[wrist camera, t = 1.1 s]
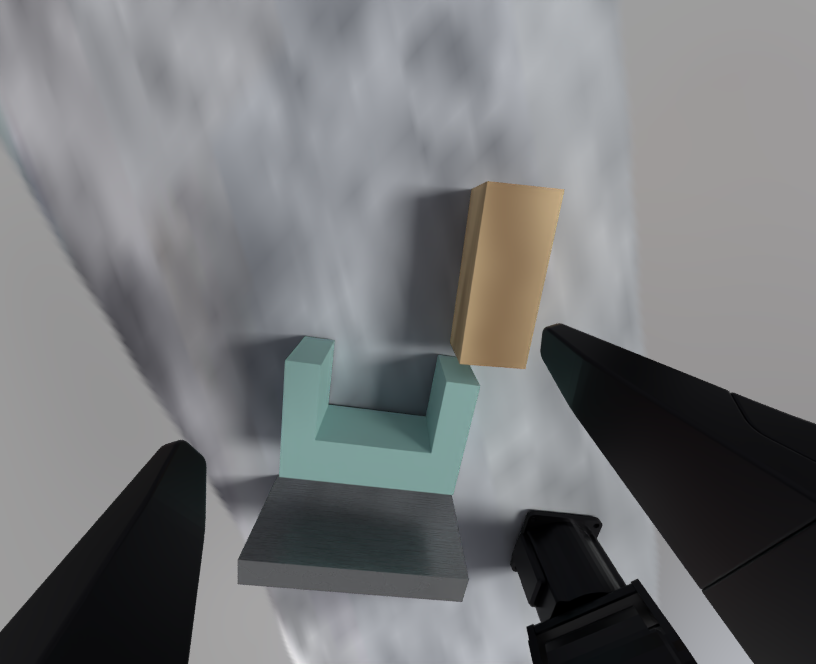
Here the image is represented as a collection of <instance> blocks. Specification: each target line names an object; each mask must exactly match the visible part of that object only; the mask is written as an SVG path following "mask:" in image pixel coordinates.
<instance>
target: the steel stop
mask: <svg viewBox="0 0 816 664" xmlns="http://www.w3.org/2000/svg"><path fill="white" fill-rule="evenodd" d="M468 580H469V579H468V574H467V569H466V564H465V559H464V554H463V549H462V544H461V539H460V534H459V529H458V524H457V519H456V514H455V509H454V504H453V499H452V495H448V494H438V493H428V492H419V491H409V490H400V489H390V488H381V487H371V486H362V485H352V484H343V483H333V482H324V481H314V480H305V479H295V478H285V477H279V475H278V476H277V479H276V481H275V483H274V485H273V487H272V489H271V491H270V493H269V495H268V497H267V500H266V502H265V504H264V506H263V508H262V510H261V512H260V514H259V516H258V519H257V521H256V523H255V525H254V527H253V529H252V531H251V533H250V535H249V537H248V540H247V542H246V544H245V546H244V548H243V550H242V552H241V554H240V556H239V559H238V584H243V585H255V586H267V587H280V588H293V589H305V590H318V591H330V592H343V593H356V594H368V595H381V596H393V597H406V598H418V599H431V600H444V601H456V602H462V601H463V597H464V594H465V590H466V587H467V584H468Z"/></svg>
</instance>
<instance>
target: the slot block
mask: <svg viewBox="0 0 816 664" xmlns="http://www.w3.org/2000/svg"><path fill="white" fill-rule="evenodd" d="M334 342H335V340H329V339H321V338H314V337H307V336H305V337H304V338H303V339H302V341H301V342H300V343H299V344H298V345H297V347H296V348H295V349H294V350H293V351H292V353H291V354H290V355H289V356H288V357H287V359H286V360H285V372H284V391H283V411H282V430H281V450H280V469H279V477H285V478H295V479H305V480H314V481H324V482H333V483H343V484H352V485H362V486H371V487H381V488H390V489H400V490H409V491H419V492H428V493H438V494H448V495H453V493H454V489H455V485H456V481H457V477H458V473H459V469H460V465H461V461H462V457H463V453H464V449H465V445H466V441H467V437H468V433H469V429H470V425H471V421H472V417H473V413H474V409H475V405H476V401H477V397H478V393H479V389H480V385H479V383H478V381H477V379H476V377H475V375H474V373H473V371H472V369H471V367H470V365H465V364H459V361H458V359H457V357H452V356H444V355H438V358H437V363H436V368H435V373H434V378H433V383H432V388H431V393H430V398H429V403H428V408H427V413H426V417H425V416H417V415H409V414H401V413H393V412H385V411H377V410H368V409H360V408H352V407H344V406H336V405H328V403H329V393H330V383H331V373H332V363H333V352H334Z"/></svg>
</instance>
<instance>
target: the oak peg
mask: <svg viewBox="0 0 816 664" xmlns="http://www.w3.org/2000/svg"><path fill="white" fill-rule="evenodd" d="M563 194H564V189H555V188H545V187H536V186H527V185H517V184H508V183H499V182H489V181H487V182H485V183H483V184H481V185H479V186H477V187H475V188H473V189H471V197H470V204H469V211H468V218H467V225H466V232H465V239H464V247H463V254H462V261H461V268H460V275H459V282H458V289H457V297H456V304H455V311H454V318H453V325H452V332H451V339H450V344H451V346H452V348H453V350H454V353H455V355H456V357H457V359H458V361H459V364H465V365H479V366H492V367H505V368H519V369H525V368H526V364H527V359H528V354H529V350H530V345H531V341H532V336H533V331H534V327H535V322H536V318H537V313H538V309H539V304H540V299H541V295H542V290H543V286H544V281H545V277H546V272H547V267H548V263H549V258H550V254H551V249H552V244H553V240H554V235H555V231H556V226H557V222H558V217H559V212H560V208H561V203H562V199H563Z"/></svg>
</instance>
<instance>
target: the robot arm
mask: <svg viewBox="0 0 816 664" xmlns="http://www.w3.org/2000/svg"><path fill="white" fill-rule="evenodd" d="M540 352H541V357H542V359H543V361H544V363H545V364H546V366H547V368H548V370H549V372H550V373H551V375H552V377H553V379H554V380H555V382H556V384H557V386H558V388H559V389H560V391H561V393H562V395H563V396H564V398H565V400H566V402H567V403H568V405H569V407H570V408H571V410H572V411H573V413H574V414H575V416H576V417H577V418H578V420H579V421H580V423H581V424H582V425H583V427H584V428H585V430H586V431H587V432H588V434H589V435H590V437H591V438H592V439H593V441H594V442H595V443H596V445H597V446H598V448H599V449H600V450H601V452H602V453H603V455H604V456H605V457H606V459H607V460H608V461H609V463H610V464H611V466H612V467H613V468H614V470H615V471H616V473H617V474H618V475H619V477H620V478H621V480H622V481H623V482H624V484H625V485H626V486H627V488H628V489H629V491H630V492H631V493H632V495H633V496H634V498H635V499H636V500H637V502H638V503H639V505H640V506H641V507H642V509H643V510H644V511H645V513H646V514H647V516H648V517H649V518H650V520H651V521H652V523H653V524H654V525H655V527H656V528H657V529H658V531H659V532H660V533H661V535H662V536H663V538H664V539H665V541H666V542H667V543H668V545H669V546H670V547H671V549H672V550H673V552H674V553H675V554H676V556H677V557H678V559H679V560H680V561H681V563H682V564H683V565H684V567H685V568H686V570H687V571H688V572H689V574H690V575H691V576H692V578H693V579H694V581H695V582H696V583H697V585H698V586H699V588H700V589H702V592H703V594H704V595H705V596H706V598H707V599H708V600H709V602H710V603H711V605H712V606H713V608H714V609H715V610H716V612H717V613H718V615H719V616H720V617H721V619H722V620H723V621H724V623H725V624H726V626H727V627H728V628H729V630H730V631H731V632H732V634H733V635H734V637H735V638H736V639H737V641H738V642H739V644H740V645H741V646H742V648H743V649H744V651H745V652H746V653H747V655H748V656H749V658H750V659H751V660H752V662H753V663H754V664H816V424H815V423H812V422H809V421H806V420H803V419H801V418H798V417H795V416H792V415H789V414H787V413H784V412H782V411H779V410H777V409H774V408H771V407H769V406H766V405H763V404H761V403H758V402H756V401H753V400H751V399H748V398H746V397H743V396H741V395H738V394H736V393H730V392H729V391H728V390H726V389H723V388H721V387H718V386H716V385H713V384H711V383H708V382H706V381H703V380H701V379H698V378H696V377H693V376H691V375H688V374H686V373H683V372H681V371H678V370H676V369H673V368H671V367H669V366H666V365H664V364H661V363H659V362H656V361H653V360H651V359H649V358H646V357H644V356H641V355H639V354H636V353H634V352H631V351H629V350H626V349H624V348H621V347H619V346H616V345H614V344H611V343H609V342H606V341H604V340H601V339H599V338H596V337H594V336H591V335H589V334H586V333H584V332H581V331H579V330H576V329H574V328H571V327H569V326H567V325H564V324H560V323H558V324H554V325H551V326H548V327H545V328H544V330H543V332H542V341H541V349H540ZM205 514H206V461H205V459H204V457H203V456H202V455H201V454H200V453H199V452H198V451H197V450H196V449H194V448H193V447H192V446H191V445H190V444H189V443H188V442H186V441H184V440H178V441H175V442H171V443H168V444H165V445H164V446H162V447H161V448H160V449H159V450H158V451H157V452H156V453H155V455H154V456H153V457H152V458H151V459H150V460H149V461H148V463H147V464H146V465H145V466H144V467H143V468H142V469H141V471H140V472H139V473H138V474H137V475H136V476H135V477H134V479H133V480H132V481H131V482H130V483H129V484H128V486H127V487H126V488H125V489H124V490H123V491H122V492H121V494H120V495H119V496H118V497H117V498H116V499H115V501H114V502H113V503H112V504H111V505H110V506H109V507H108V509H107V510H106V511H105V512H104V514H102V516H101V517H100V518H99V519H98V520H97V521H96V522H95V524H94V525H93V526H92V527H91V528H90V529H89V530H88V532H87V533H86V534H85V535H84V536H83V537H82V539H81V540H80V541H79V542H78V543H77V544H76V545H75V547H74V548H73V549H72V550H71V551H70V552H69V554H68V555H67V556H66V557H65V558H64V559H63V560H62V562H61V563H60V564H59V565H58V566H57V567H56V569H55V570H54V571H53V572H52V573H51V574H50V575H49V577H48V578H47V579H46V580H45V581H44V582H43V583H42V585H41V586H40V587H39V588H38V589H37V590H36V591H35V593H34V594H33V595H32V596H31V597H30V598H29V600H28V601H27V602H26V603H25V604H24V605H23V606H22V608H21V609H20V610H19V611H18V612H17V613H16V614H15V616H14V617H13V618H12V619H11V620H10V622H9V623H8V624H7V625H6V626H5V627H4V628H3V629H2V631H1V632H0V664H188V661H189V653H190V645H191V637H192V629H193V621H194V614H195V605H196V597H197V589H198V582H199V575H200V566H201V559H202V551H203V543H204V534H205V519H206V515H205ZM533 517H534V518H533ZM601 528H602V523H601V521H600V520H599V519H598V518H597V517H588V516H579V515H569V514H559V513H550V512H540V511H530V512H529V513H528V514H527V516H526V519H525V522H524V525H523V528H522V530H521V533H520V535H519V537H518V540H517V543H516V545H515V548H514V551H513V554H512V560H511V563H510V565H511V568H512V570H513V571H515V572H518V574H519V577H520V580H521V583H522V586H523V589H524V592H525V595H526V598H527V600H528V603H529V604H530V606H531V607H535V608H536V610H537V613H538V616H539V619H540V621H541V623H538V624H536V625H534V624H532V625H530V626H527V627H526V628H527V632H528V637H529V640H528V643H529V648H530V652H531V657H532V661H533V664H697V662H696V661H695V659H694V658H693V656H692V655H691V653H690V652H689V650H688V649H687V647H686V646H685V644H684V643H683V642H682V640H681V639H680V637H679V636H678V634H677V633H676V632H675V630H674V629H673V627H672V626H671V625H670V623H669V622H668V620H667V619H666V617H665V616H664V615H663V613H662V612H661V610H660V609H659V608H658V606H657V605H656V603H655V602H654V601H653V599H652V598H651V596H650V595H649V594H648V592H647V591H646V589H645V588H644V587H643V585H642V584H641V582H640V581H639V580H638V579H636V580H634V581H631V584H629V585H626V584H625V582H624V581H623V579H622V578H621V576H620V575H619V573H618V571H617V570H616V568H615V567H614V565H613V564H612V562H611V560H610V559H609V557H608V556H607V554H606V553H605V551H604V549H603V548H602V546H601V545H600V543H599V542H598V540H597V537H598V535H599V532H600V530H601Z"/></svg>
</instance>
